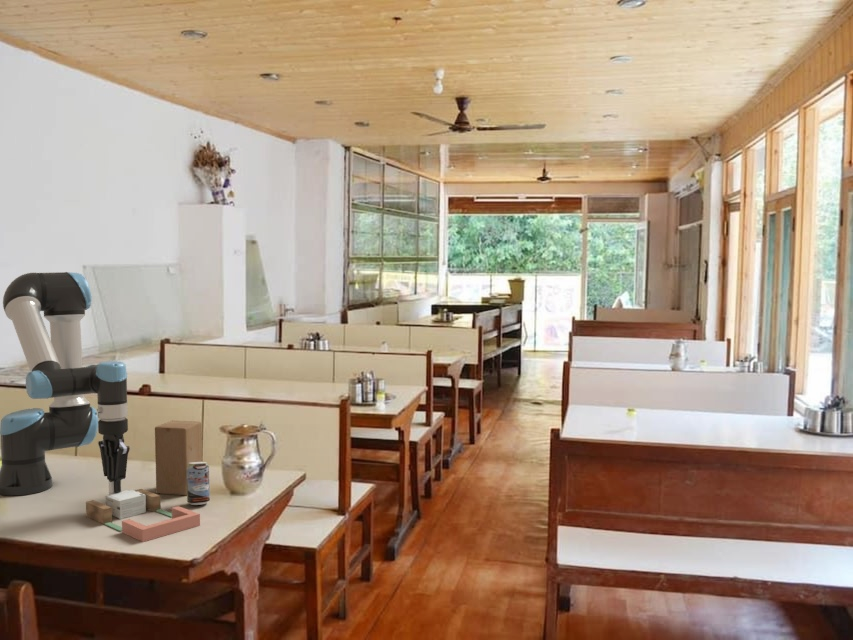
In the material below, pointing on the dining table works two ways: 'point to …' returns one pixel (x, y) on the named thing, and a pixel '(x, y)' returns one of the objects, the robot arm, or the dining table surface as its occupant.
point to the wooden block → (176, 454)
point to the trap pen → (162, 525)
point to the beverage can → (198, 483)
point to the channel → (105, 512)
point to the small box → (126, 503)
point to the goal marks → (121, 527)
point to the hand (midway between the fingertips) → (115, 503)
